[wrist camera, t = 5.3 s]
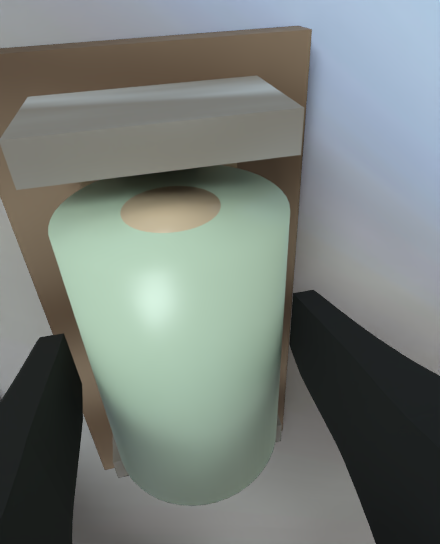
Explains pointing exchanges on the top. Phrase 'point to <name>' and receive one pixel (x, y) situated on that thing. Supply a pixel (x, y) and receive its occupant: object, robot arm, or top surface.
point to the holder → (145, 143)
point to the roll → (181, 320)
